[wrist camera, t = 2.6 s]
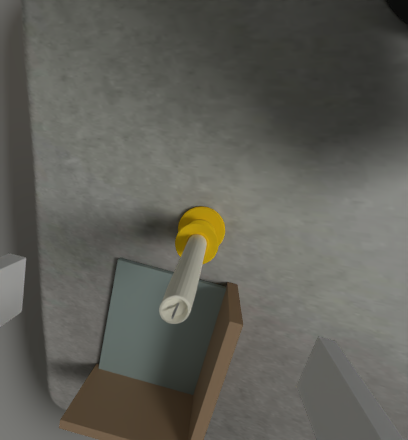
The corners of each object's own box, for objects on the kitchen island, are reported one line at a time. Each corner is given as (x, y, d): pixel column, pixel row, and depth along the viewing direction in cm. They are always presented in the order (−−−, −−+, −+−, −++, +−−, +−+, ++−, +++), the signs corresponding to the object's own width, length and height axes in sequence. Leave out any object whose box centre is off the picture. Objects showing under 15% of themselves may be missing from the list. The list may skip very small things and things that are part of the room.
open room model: (116, 251, 26) (79, 279, 20) (242, 286, 26) (249, 326, 19) (95, 370, 30) (59, 428, 24) (204, 401, 30) (199, 468, 23)
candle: (218, 201, 24) (214, 252, 9) (229, 245, 25) (242, 358, 10) (173, 212, 25) (98, 277, 10) (185, 255, 26) (135, 375, 11)
